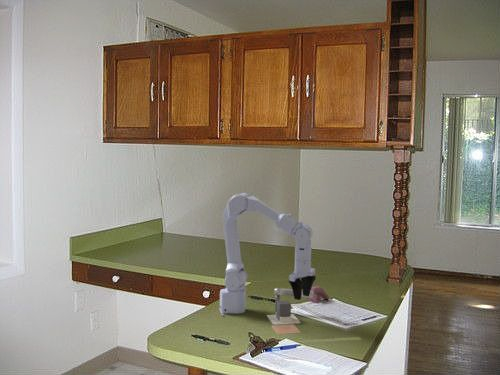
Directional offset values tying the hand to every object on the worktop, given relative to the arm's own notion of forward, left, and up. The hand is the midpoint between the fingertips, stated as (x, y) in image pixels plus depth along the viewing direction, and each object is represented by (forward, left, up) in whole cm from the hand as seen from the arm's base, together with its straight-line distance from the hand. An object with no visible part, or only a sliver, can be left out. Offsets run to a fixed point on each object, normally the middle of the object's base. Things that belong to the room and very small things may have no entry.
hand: (301, 297), depth 184 cm
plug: (-7, -1, -7) cm, 10 cm away
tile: (-9, -11, -8) cm, 16 cm away
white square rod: (-1, +5, -1) cm, 6 cm away
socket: (-7, +2, -8) cm, 11 cm away
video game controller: (+13, +21, -8) cm, 26 cm away
